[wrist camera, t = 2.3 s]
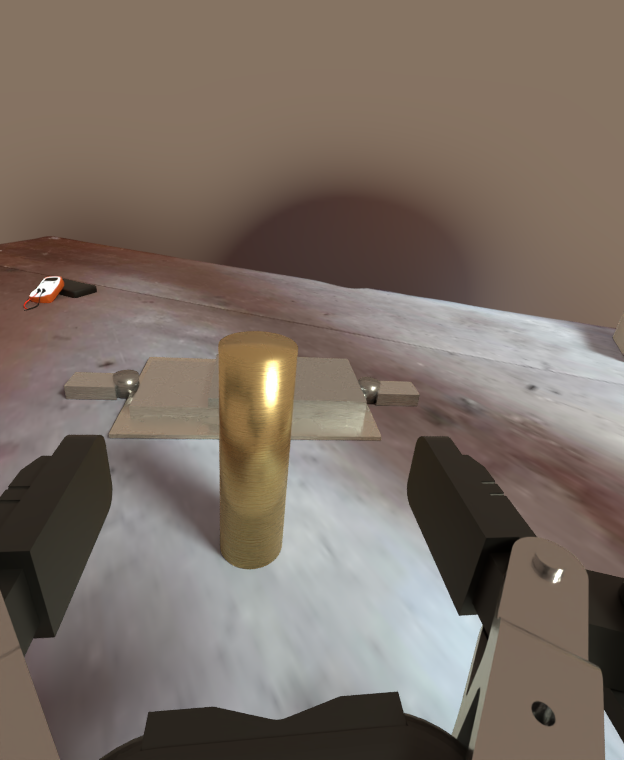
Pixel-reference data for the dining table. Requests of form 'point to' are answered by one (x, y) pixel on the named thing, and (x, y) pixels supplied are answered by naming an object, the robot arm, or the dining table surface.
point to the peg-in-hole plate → (201, 399)
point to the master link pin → (254, 443)
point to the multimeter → (59, 290)
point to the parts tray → (620, 334)
